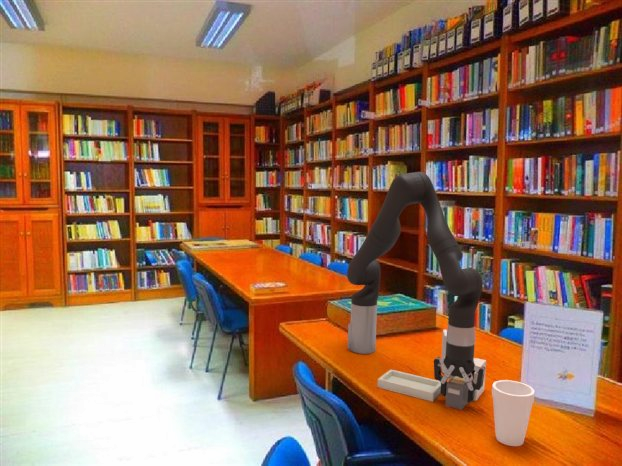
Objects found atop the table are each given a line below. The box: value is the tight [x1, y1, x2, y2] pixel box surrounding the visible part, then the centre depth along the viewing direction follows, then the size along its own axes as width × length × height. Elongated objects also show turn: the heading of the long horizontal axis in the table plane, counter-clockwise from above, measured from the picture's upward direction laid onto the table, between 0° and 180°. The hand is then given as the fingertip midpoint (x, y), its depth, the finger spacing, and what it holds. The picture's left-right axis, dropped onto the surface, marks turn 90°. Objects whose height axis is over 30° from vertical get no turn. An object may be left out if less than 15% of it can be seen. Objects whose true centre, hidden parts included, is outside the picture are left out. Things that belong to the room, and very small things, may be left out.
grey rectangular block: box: [445, 372, 475, 411], centre depth 145 cm, size 4×14×7 cm, turn 148°
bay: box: [448, 357, 487, 402], centre depth 151 cm, size 8×9×9 cm
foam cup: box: [491, 379, 536, 447], centre depth 124 cm, size 10×9×13 cm
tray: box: [377, 369, 441, 403], centre depth 152 cm, size 17×10×2 cm, turn 58°
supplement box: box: [440, 329, 447, 374], centre depth 167 cm, size 7×7×13 cm
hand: (457, 398), depth 143 cm, fingers open, 6 cm apart
